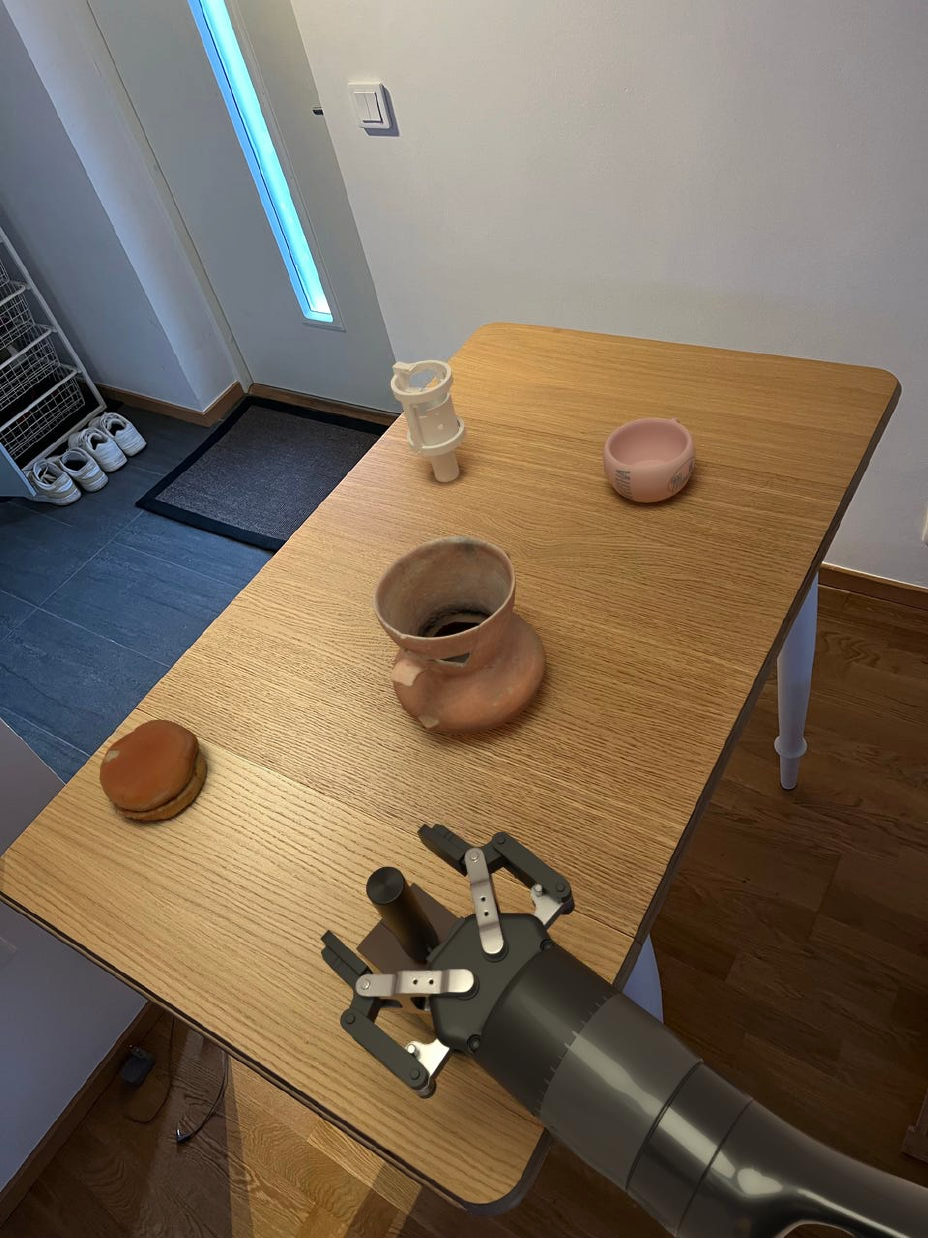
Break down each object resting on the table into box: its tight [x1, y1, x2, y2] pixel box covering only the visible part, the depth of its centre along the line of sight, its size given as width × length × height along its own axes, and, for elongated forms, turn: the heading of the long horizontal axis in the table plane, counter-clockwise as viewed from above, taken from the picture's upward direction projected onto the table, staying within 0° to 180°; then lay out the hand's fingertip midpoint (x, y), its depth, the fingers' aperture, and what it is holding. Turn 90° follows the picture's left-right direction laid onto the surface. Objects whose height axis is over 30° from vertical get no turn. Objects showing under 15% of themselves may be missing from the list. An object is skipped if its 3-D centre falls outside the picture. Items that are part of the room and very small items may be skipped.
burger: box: [99, 719, 208, 822], centre depth 79 cm, size 10×9×5 cm
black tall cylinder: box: [365, 865, 438, 963], centre depth 56 cm, size 2×3×17 cm
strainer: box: [390, 359, 467, 483], centre depth 98 cm, size 7×7×15 cm
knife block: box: [355, 882, 460, 1031], centre depth 59 cm, size 6×8×7 cm
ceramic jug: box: [372, 535, 547, 736], centre depth 75 cm, size 18×14×14 cm
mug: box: [602, 417, 697, 503], centre depth 93 cm, size 12×10×6 cm
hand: (376, 884), depth 52 cm, fingers open, 8 cm apart
